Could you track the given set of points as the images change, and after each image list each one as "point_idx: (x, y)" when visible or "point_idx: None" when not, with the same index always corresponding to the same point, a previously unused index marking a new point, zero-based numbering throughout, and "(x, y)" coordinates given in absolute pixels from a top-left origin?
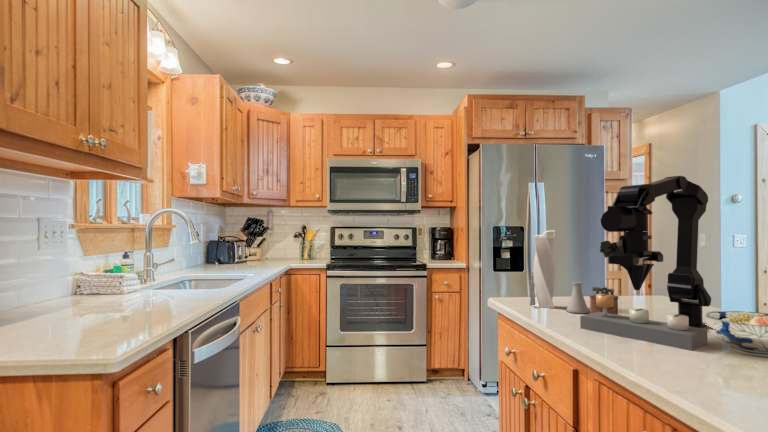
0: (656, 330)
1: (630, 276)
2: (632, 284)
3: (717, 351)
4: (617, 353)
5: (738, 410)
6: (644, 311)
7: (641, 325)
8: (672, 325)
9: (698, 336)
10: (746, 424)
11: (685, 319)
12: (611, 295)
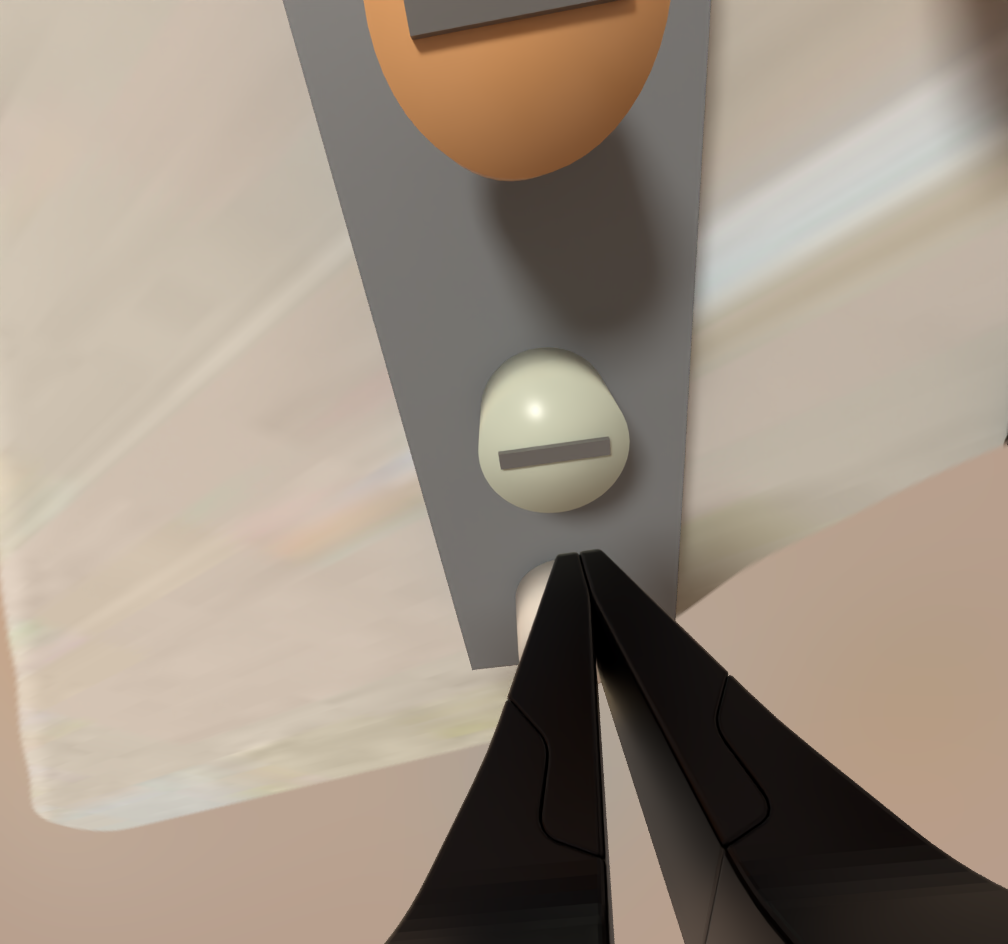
0: (441, 555)
1: (501, 738)
2: (542, 602)
3: None
4: (121, 521)
5: (122, 809)
6: (534, 502)
7: (453, 474)
8: (517, 610)
9: None
10: (80, 827)
11: None
12: (582, 114)
